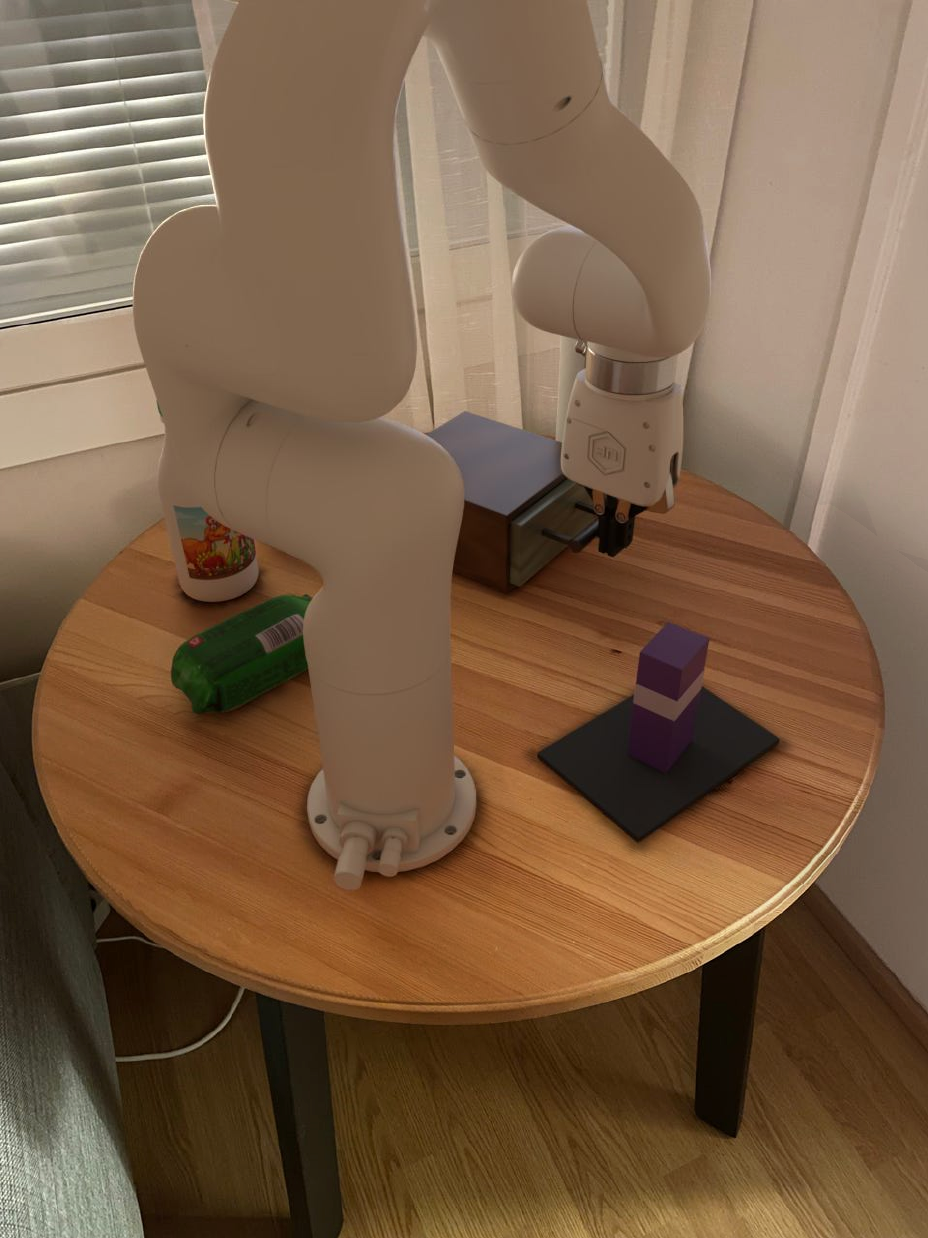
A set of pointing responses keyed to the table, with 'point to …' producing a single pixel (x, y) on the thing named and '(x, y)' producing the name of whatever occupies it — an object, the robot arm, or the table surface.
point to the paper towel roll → (566, 379)
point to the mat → (642, 790)
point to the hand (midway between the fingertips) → (613, 548)
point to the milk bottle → (202, 539)
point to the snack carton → (667, 695)
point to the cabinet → (495, 489)
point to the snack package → (243, 655)
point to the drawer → (551, 529)
